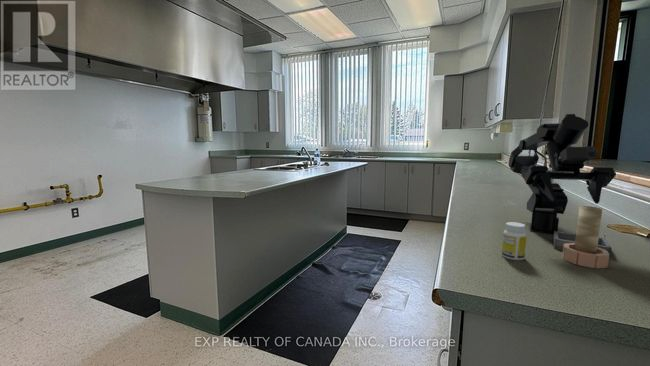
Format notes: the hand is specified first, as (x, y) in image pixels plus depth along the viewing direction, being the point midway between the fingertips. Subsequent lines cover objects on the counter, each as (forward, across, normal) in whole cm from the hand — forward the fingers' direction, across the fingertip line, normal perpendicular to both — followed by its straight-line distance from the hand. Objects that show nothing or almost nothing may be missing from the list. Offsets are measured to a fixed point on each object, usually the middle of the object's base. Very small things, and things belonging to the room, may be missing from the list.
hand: (575, 201), depth 76 cm
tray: (+7, +3, +11) cm, 14 cm away
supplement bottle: (+16, -16, +2) cm, 23 cm away
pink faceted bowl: (+14, 0, +4) cm, 15 cm away
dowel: (+14, 0, +4) cm, 15 cm away
